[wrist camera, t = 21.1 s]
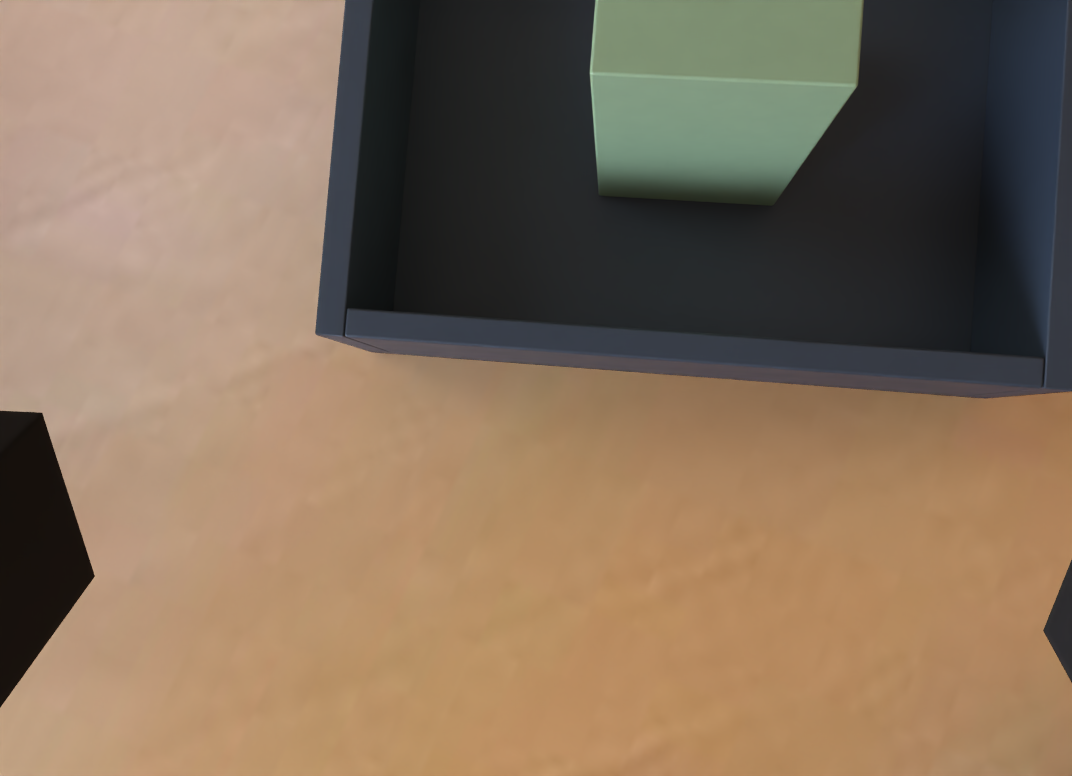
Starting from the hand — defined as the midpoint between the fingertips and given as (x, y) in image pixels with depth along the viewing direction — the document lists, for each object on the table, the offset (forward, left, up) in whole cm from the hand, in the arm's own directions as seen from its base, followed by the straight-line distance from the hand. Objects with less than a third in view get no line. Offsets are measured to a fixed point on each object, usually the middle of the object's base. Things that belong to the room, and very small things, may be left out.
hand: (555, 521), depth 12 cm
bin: (+2, +11, -18) cm, 21 cm away
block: (+2, +11, -17) cm, 21 cm away
